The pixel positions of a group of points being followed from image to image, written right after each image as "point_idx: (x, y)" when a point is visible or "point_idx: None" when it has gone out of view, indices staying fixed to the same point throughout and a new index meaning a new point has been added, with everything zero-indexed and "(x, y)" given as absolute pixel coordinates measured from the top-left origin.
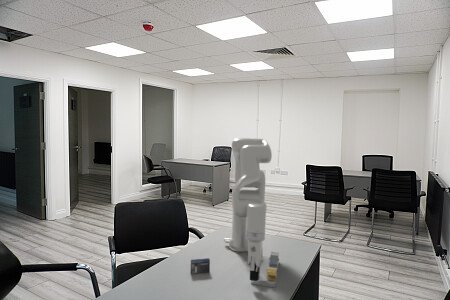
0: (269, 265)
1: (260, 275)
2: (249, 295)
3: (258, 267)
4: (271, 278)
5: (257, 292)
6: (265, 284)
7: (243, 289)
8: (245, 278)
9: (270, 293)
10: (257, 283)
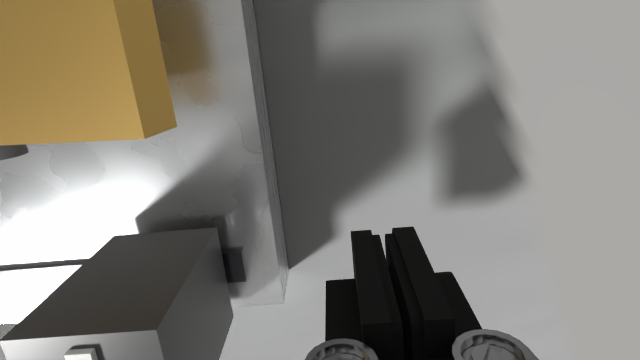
0: None
1: (133, 215)
2: (539, 232)
3: (167, 328)
4: None
5: (453, 165)
6: (263, 108)
7: None
8: None
9: (430, 5)
10: (279, 207)
